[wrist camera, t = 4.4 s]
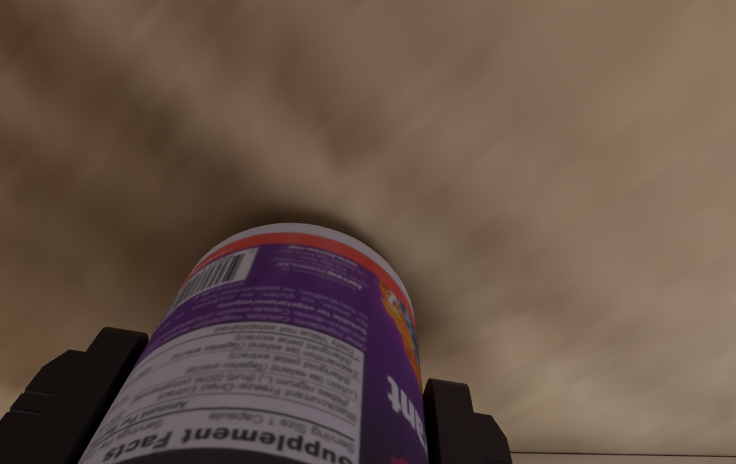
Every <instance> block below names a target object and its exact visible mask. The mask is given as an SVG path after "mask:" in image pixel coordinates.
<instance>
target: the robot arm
mask: <svg viewBox="0 0 736 464" xmlns="http://www.w3.org/2000/svg"><path fill="white" fill-rule="evenodd" d="M148 342H149V340H148V335H147V334H146V333H144V332H137V331H131V330H124V329H118V328H112V327H105V328H103V329H102V330H101V331H100V333H99V334H98V335H97V337H96V338H95V340H94V341H93V342H92V344H91V345H90V346H89V348H88V349H87V351H86V352H82V351H76V350H68V351H66V352H65V353H63V354H62V355H60V356H59V357H57V358H55V359H54V360H52V361H51V362H49V363H48V364H46V365H45V366H43V367H42V368H41V370H40V371H39V372H38V373H37V375H36V376H35V377H34V378H33V380H32V381H31V382H30V383H29V385H28V386H27V387H26V389H25V392H24V393H22V394H21V395H20V396H19V397H18V399H17V400H16V401H15V402H14V404H13V405H12V406H11V409H10V411H9V412H6V414H5V415H4V416H3V418H2V419H1V420H0V464H78V462H79V460H80V459H81V457H82V455H83V453H84V452H85V450H86V448H87V446H88V445H89V443H90V441H91V440H92V438H93V436H94V434H95V433H96V431H97V429H98V427H99V426H100V424H101V422H102V421H103V419H104V417H105V416H106V414H107V412H108V410H109V409H110V407H111V405H112V404H113V402H114V400H115V399H116V397H117V395H118V393H119V392H120V390H121V388H122V387H123V385H124V383H125V382H126V380H127V378H128V376H129V375H130V373H131V371H132V369H133V368H134V366H135V364H136V362H137V361H138V359H139V357H140V356H141V354H142V352H143V351H144V349H145V347H146V346H147V344H148ZM423 404H424V416H425V426H426V437H427V451H428V460H429V464H512V463H513V462H512V458H511V454H510V450H509V445H508V441H507V438H506V436H505V435H504V433H503V432H502V430H501V429H500V428H499V426H498V425H497V423H496V422H495V420H494V419H493V417H492V416H491V415H486V414H479V413H474V412H473V406H472V401H471V396H470V391H469V387H468V385H467V384H463V383H457V382H451V381H444V380H438V379H432V378H430V379H429V380H428V382H427V384H426V387H425V390H424V394H423Z"/></svg>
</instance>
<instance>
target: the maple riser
mask: <svg viewBox="0 0 736 464" xmlns="http://www.w3.org/2000/svg"><path fill="white" fill-rule="evenodd" d="M510 454H511V458H512V462H513V463H512V464H736V457H689V456H633V455H577V454H521V453H510Z"/></svg>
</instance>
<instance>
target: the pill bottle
mask: <svg viewBox="0 0 736 464" xmlns="http://www.w3.org/2000/svg"><path fill="white" fill-rule="evenodd" d="M78 464H429V460H428V451H427V437H426V426H425V416H424V404H423V393H422V382H421V372H420V361H419V347H418V336H417V328H416V323H415V317H414V311H413V308H412V304H411V300H410V298H409V296H408V293H407V291H406V289H405V287H404V285H403V283H402V281H401V280H400V278H399V277H398V275H397V274H396V272H395V271H394V270H393V269H392V268H391V267H390V265H389V264H388V263H387V262H386V261H385V260H384V259H383V258H382V257H381V256H380V255H379V254H377V253H376V252H375V251H374V250H372V249H371V248H370V247H368V246H367V245H365V244H364V243H362V242H361V241H359V240H357V239H355V238H353V237H351V236H349V235H346V234H344V233H342V232H338V231H335V230H332V229H329V228H326V227H322V226H317V225H312V224H303V223H277V224H269V225H264V226H259V227H255V228H251V229H248V230H246V231H243V232H240V233H238V234H235V235H233V236H231V237H229V238H227V239H226V240H224V241H222V242H221V243H219V244H218V245H216V246H215V247H214V248H213V249H211V250H210V251H209V252H208V253H207V254H206V255H205V256H204V257H203V258H202V259H201V260H200V261H199V262H198V263H197V265H196V266H195V267H194V269H193V270H192V271H191V273H190V274H189V276H188V277H187V278H186V280H185V281H184V283H183V284H182V286H181V287H180V289H179V291H178V293H177V294H176V296H175V298H174V300H173V301H172V303H171V304H170V306H169V307H168V309H167V310H166V312H165V314H164V316H163V318H162V320H161V321H160V323H159V325H158V326H157V328H156V330H155V331H154V333H153V335H152V337H151V339H150V341H149V342H148V344H147V346H146V347H145V349H144V351H143V352H142V354H141V356H140V357H139V359H138V361H137V362H136V364H135V366H134V368H133V369H132V371H131V373H130V375H129V376H128V378H127V380H126V382H125V383H124V385H123V387H122V388H121V390H120V392H119V393H118V395H117V397H116V399H115V400H114V402H113V404H112V405H111V407H110V409H109V410H108V412H107V414H106V416H105V417H104V419H103V421H102V422H101V424H100V426H99V427H98V429H97V431H96V433H95V434H94V436H93V438H92V440H91V441H90V443H89V445H88V446H87V448H86V450H85V452H84V453H83V455H82V457H81V459H80V460H79V462H78Z"/></svg>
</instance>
